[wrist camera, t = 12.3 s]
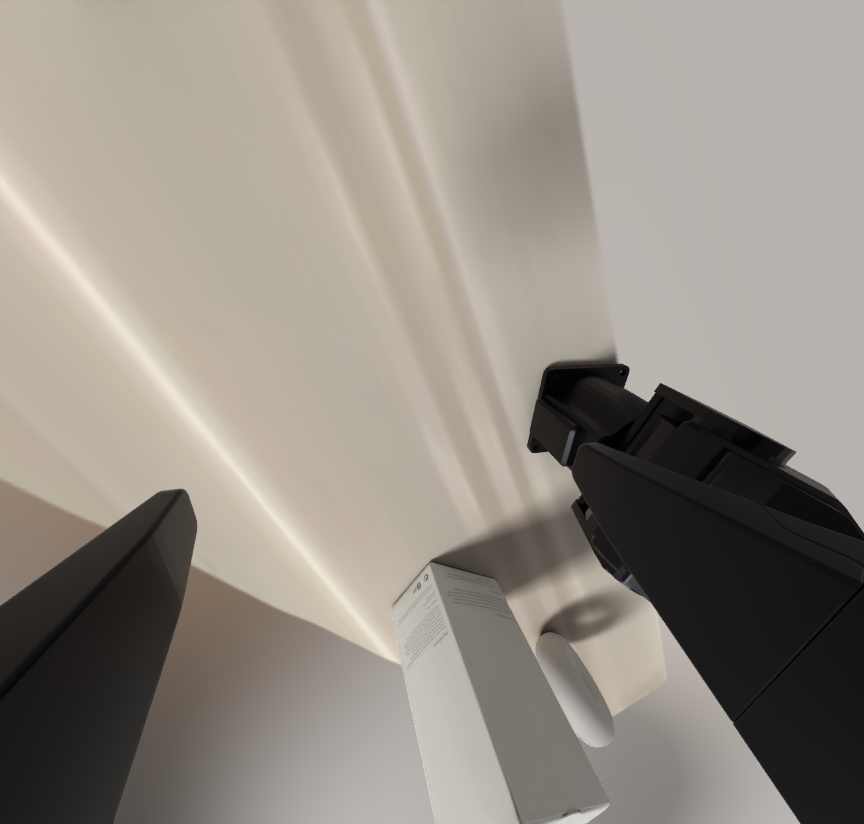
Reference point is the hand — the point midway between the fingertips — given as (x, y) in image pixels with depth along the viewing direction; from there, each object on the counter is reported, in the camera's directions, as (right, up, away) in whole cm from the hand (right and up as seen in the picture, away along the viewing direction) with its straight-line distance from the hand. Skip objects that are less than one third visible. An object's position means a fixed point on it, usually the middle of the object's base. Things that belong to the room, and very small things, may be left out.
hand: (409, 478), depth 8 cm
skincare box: (+2, -14, +24) cm, 28 cm away
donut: (+14, -24, +33) cm, 43 cm away
